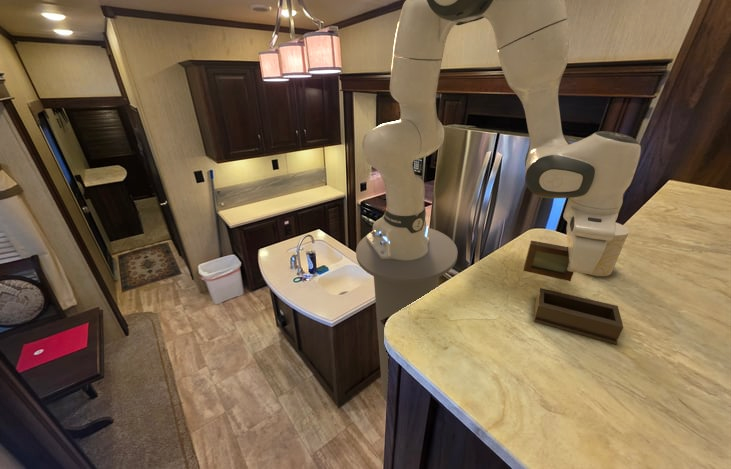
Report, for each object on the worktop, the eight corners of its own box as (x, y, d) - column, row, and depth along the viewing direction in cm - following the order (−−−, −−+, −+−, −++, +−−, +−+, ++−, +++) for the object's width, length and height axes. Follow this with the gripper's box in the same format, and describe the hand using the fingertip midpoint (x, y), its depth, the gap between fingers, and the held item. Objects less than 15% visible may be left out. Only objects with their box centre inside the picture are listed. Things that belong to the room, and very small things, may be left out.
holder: (535, 299, 68) (539, 285, 66) (610, 318, 61) (617, 303, 59) (534, 321, 62) (538, 307, 60) (616, 344, 55) (624, 329, 53)
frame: (523, 266, 74) (530, 240, 70) (570, 276, 70) (580, 248, 66) (523, 271, 73) (530, 244, 69) (570, 281, 68) (580, 253, 64)
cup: (579, 274, 74) (594, 233, 68) (570, 257, 81) (582, 218, 75) (617, 278, 72) (636, 236, 66) (604, 259, 79) (619, 220, 73)
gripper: (569, 193, 70) (554, 242, 77) (574, 231, 55) (555, 288, 61) (601, 197, 67) (583, 247, 74) (616, 238, 52) (591, 296, 59)
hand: (570, 266), depth 67 cm, fingers closed on frame, 2 cm apart
